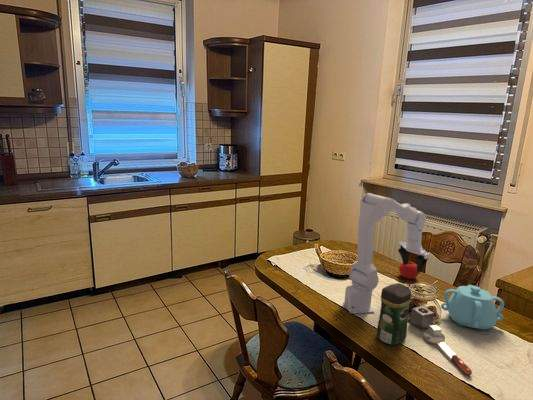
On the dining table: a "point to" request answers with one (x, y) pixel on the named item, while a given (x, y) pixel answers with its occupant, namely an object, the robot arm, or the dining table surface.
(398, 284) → the coffee jar
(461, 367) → the ratchet
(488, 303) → the decorative pot
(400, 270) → the tomato
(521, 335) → the dining table surface
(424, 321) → the socket
